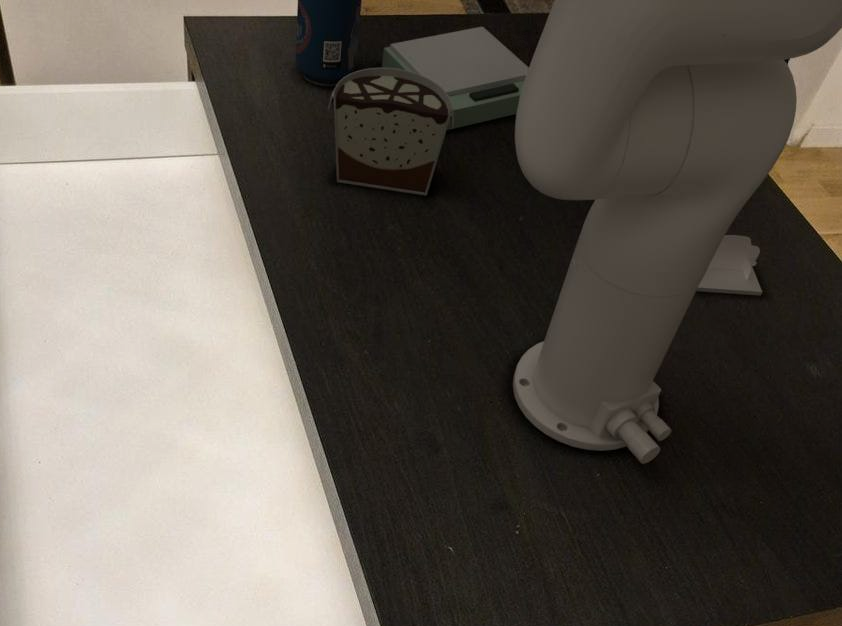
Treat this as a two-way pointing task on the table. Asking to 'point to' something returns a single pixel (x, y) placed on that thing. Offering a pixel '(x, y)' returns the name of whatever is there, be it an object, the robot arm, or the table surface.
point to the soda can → (327, 39)
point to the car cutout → (732, 268)
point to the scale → (465, 72)
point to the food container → (389, 129)
